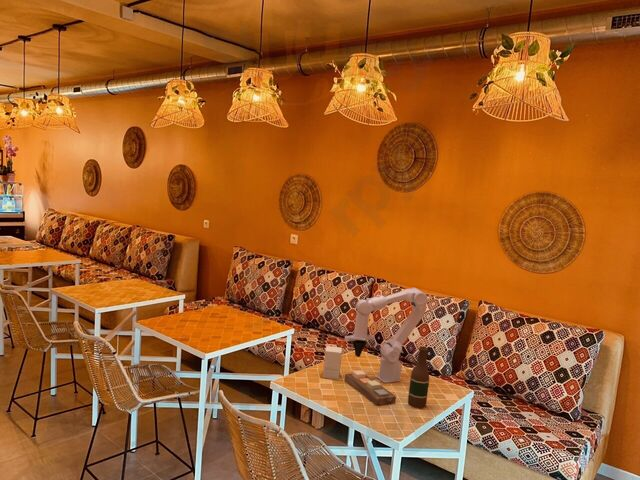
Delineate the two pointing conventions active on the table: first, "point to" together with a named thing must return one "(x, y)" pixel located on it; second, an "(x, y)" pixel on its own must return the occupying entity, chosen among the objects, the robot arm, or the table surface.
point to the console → (368, 393)
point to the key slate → (381, 393)
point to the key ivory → (358, 374)
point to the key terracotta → (364, 380)
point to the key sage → (373, 385)
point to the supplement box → (332, 362)
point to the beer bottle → (419, 381)
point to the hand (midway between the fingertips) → (357, 356)
